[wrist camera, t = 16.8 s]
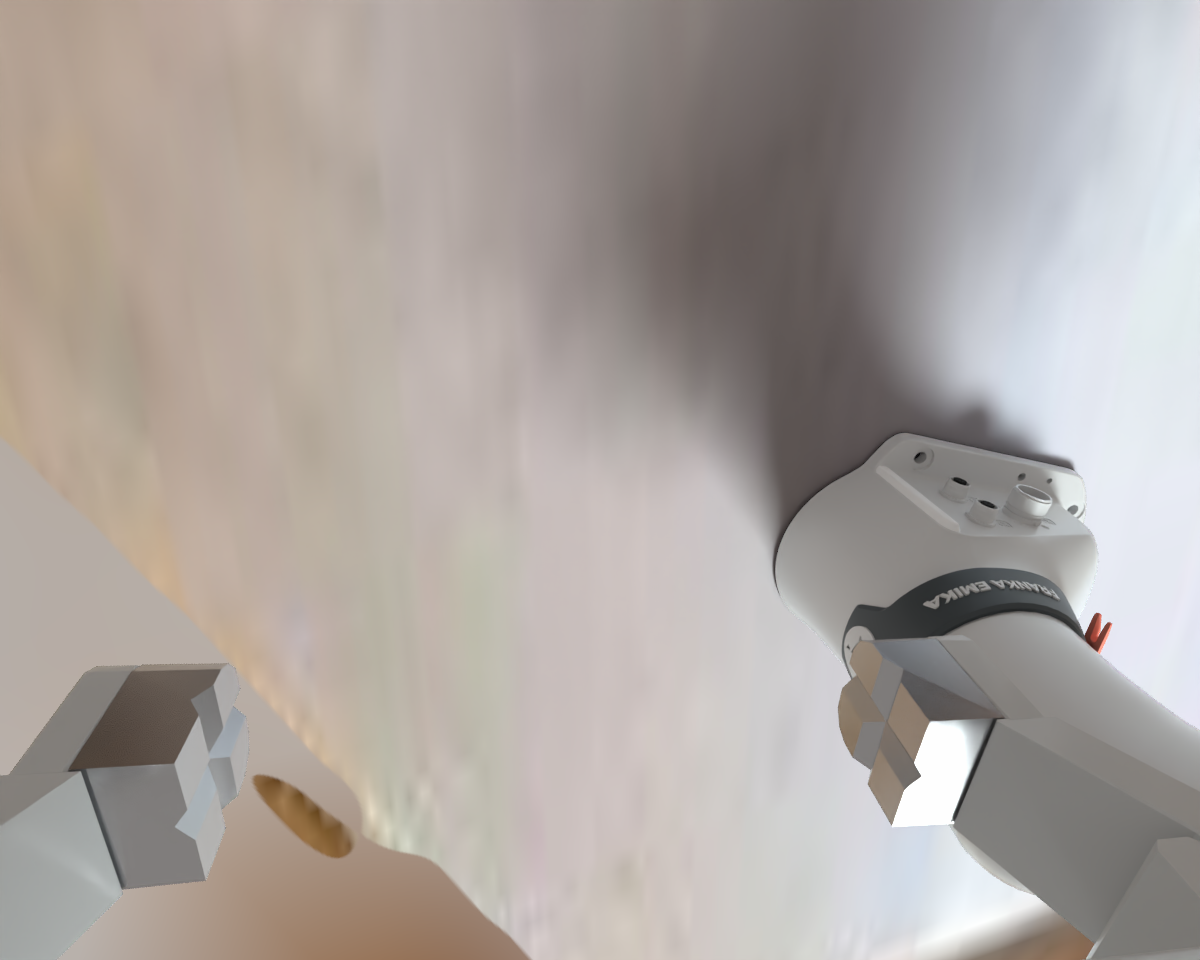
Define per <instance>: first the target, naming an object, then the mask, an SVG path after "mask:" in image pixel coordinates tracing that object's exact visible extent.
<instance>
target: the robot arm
mask: <svg viewBox="0 0 1200 960" xmlns="http://www.w3.org/2000/svg"><path fill="white" fill-rule="evenodd" d="M919 452H921V454H920V456H919V457H918V458H916V459H914V457H915V455H916V454H917V453H919ZM1085 515H1086V490H1085V485H1084V482H1083V479H1082V478H1081V476H1079V475H1078V474H1077V473H1076V472H1075V471H1073V470H1071V469H1068V468H1065V467H1060V466H1056V465H1052V464H1047V463H1043V462H1038V461H1033V460H1029V459H1024V458H1020V457H1015V456H1011V455H1006V454H1002V453H997V452H992V451H988V450H983V449H979V448H974V447H970V446H965V445H961V444H956V443H951V442H947V441H942V440H938V439H933V438H929V437H924V436H920V435H915V434H910V433H900V434H897V435H894V436H893V437H891V438H890V439H888V440H887V441H886V442H885V443H884V444H883V445H882V446H881V447H879V448H878V450H877V451H876V452H875V453H874V454H873V455H872V456H871V457H870V458H869V459H868V460H867V461H866V462H865V464H863V465H862V466H861V467H859V468H858V469H856V470H854V471H853V472H851V473H849V474H847V475H845V476H843V477H842V478H840V479H838V480H836V481H834V482H833V483H831V484H830V485H828V486H827V487H825V488H824V489H822V490H821V491H820V492H819V493H817V494H816V495H815V496H814V497H813V498H812V499H810V500H809V501H808V502H807V503H806V504H805V505H804V506H803V508H802V509H801V510H800V511H799V512H798V513H797V515H796V516H795V517H794V519H793V520H792V522H791V523H790V525H789V527H788V528H787V530H786V532H785V534H784V536H783V538H782V541H781V543H780V546H779V549H778V553H777V558H776V567H775V575H776V583H777V587H778V591H779V593H780V596H781V598H782V600H783V602H784V603H785V605H786V606H787V608H788V609H789V610H790V611H791V612H792V613H793V615H795V616H796V617H797V618H798V619H799V620H801V621H802V622H803V623H804V624H805V625H806V626H808V627H809V628H810V629H811V630H812V631H813V632H814V633H815V634H816V635H817V636H818V637H819V638H820V639H821V640H822V641H823V642H824V643H825V644H826V645H827V646H828V648H829V649H830V651H831V652H832V653H833V654H834V656H835V657H836V658H837V659H838V660H839V661H841V663H842V664H843V665H844V666H845V667H846V668H847V671H848V673H849V675H850V677H851V681H850V682H849V683H847V684H846V685H845V686H844V687H843V688H842V692H841V696H840V700H839V705H838V715H839V727H840V730H841V733H842V737H843V740H844V743H845V744H846V746H847V748H848V750H849V752H850V754H851V755H852V757H853V758H854V759H856V760H857V761H859V762H860V763H862V764H863V765H864V766H866V767H867V768H869V769H870V770H871V771H870V776H869V781H868V785H869V787H870V789H871V791H872V792H873V794H874V796H875V798H876V799H877V801H878V803H879V805H880V806H881V808H882V810H883V811H884V813H885V815H886V817H887V818H888V820H889V822H890V824H891V825H892V827H894V826H915V825H935V824H948V825H949V826H950V828H951V830H952V831H953V833H954V834H955V836H956V838H957V839H958V841H959V842H960V844H961V846H962V847H963V848H964V850H965V851H966V852H967V853H968V854H969V855H970V856H971V857H972V858H973V859H974V860H975V861H976V862H977V863H978V864H979V865H980V866H981V867H983V868H984V869H985V870H986V871H987V872H989V873H990V874H991V875H993V876H994V877H996V878H997V879H999V880H1001V881H1002V882H1004V883H1006V884H1007V885H1009V886H1012V887H1014V888H1016V889H1018V890H1021V891H1024V892H1027V893H1030V894H1033V895H1036V896H1037V897H1038V898H1040V899H1041V900H1042V901H1043V902H1045V903H1046V904H1047V905H1048V906H1049V907H1051V908H1052V909H1053V910H1054V911H1055V912H1057V913H1058V914H1059V915H1060V916H1062V917H1063V918H1064V919H1065V920H1066V921H1068V922H1069V923H1070V924H1071V925H1072V926H1074V927H1075V928H1076V929H1077V930H1079V931H1080V932H1081V933H1082V934H1083V935H1085V936H1086V937H1087V938H1088V939H1089V940H1091V941H1092V942H1093V943H1094V944H1095V945H1094V946H1093V948H1092V950H1091V951H1090V953H1089V955H1088V956H1087V958H1086V960H1200V730H1198V729H1197V728H1195V727H1193V726H1192V725H1190V724H1189V723H1187V722H1186V721H1184V720H1183V719H1181V718H1180V717H1178V716H1177V715H1175V714H1174V713H1173V712H1171V711H1170V710H1169V709H1167V708H1166V707H1165V706H1163V705H1162V704H1161V703H1159V702H1158V701H1157V700H1155V699H1154V698H1153V697H1151V696H1150V695H1149V694H1147V693H1146V692H1145V691H1144V690H1142V689H1141V688H1140V687H1139V686H1137V685H1136V684H1135V683H1133V682H1132V681H1131V680H1130V679H1128V678H1127V677H1126V676H1125V675H1123V674H1122V673H1121V672H1120V671H1119V670H1117V669H1116V668H1115V667H1114V666H1113V665H1112V664H1110V663H1109V662H1108V661H1107V660H1106V659H1104V658H1103V657H1102V656H1101V655H1100V652H1101V650H1102V648H1103V646H1104V644H1105V642H1106V639H1107V637H1108V635H1109V632H1110V629H1111V626H1112V623H1111V622H1108V623H1107V624H1106V625H1105V627H1104V628H1103V630H1102V631H1101V633H1100V629H1101V616H1102V615H1101V614H1100V613H1096V614H1095V615H1094V616H1093V618H1092V620H1091V623H1090V625H1089V627H1088V629H1087V631H1086V634H1085V636H1084V634H1083V631H1082V629H1081V626H1080V624H1079V622H1078V620H1079V618H1080V616H1081V614H1082V612H1083V610H1084V608H1085V606H1086V603H1087V601H1088V598H1089V596H1090V594H1091V591H1092V588H1093V585H1094V582H1095V577H1096V573H1097V568H1098V548H1097V543H1096V540H1095V538H1094V536H1093V534H1092V532H1091V531H1090V530H1089V529H1088V528H1087V527H1086V526H1085V525H1084V520H1085ZM1099 633H1100V635H1099ZM1098 635H1099V636H1098ZM239 691H240V685H239V681H238V677H237V673H236V668H235V667H233V666H232V665H230V664H229V663H226V664H165V665H164V664H157V665H141V666H96V667H94V668H93V669H91V670H89V671H87V672H85V673H84V674H83V675H82V677H81V678H80V679H79V681H78V682H77V683H76V685H75V686H74V688H73V689H72V690H71V692H70V693H69V694H68V696H67V697H66V698H65V700H64V701H63V703H62V704H61V705H60V706H59V708H58V709H57V711H56V712H55V713H54V714H53V716H52V717H51V719H50V720H49V721H48V723H47V724H46V725H45V727H44V728H43V729H42V731H41V732H40V733H39V735H38V736H37V738H36V739H35V740H34V742H33V743H32V744H31V746H30V747H29V748H28V750H27V751H26V752H25V754H24V755H23V756H22V758H21V759H20V760H19V762H18V763H17V764H16V766H15V767H14V768H13V770H12V771H11V773H10V774H9V775H3V776H0V960H57V959H58V958H59V957H60V956H61V955H62V954H63V953H64V952H65V951H66V950H67V949H68V948H69V947H70V946H71V945H72V944H73V943H74V942H75V941H76V940H77V939H78V938H79V937H80V936H81V935H82V934H83V933H85V932H86V931H87V930H88V929H89V927H91V926H92V925H93V924H94V923H95V921H97V919H99V918H100V916H102V915H103V914H104V912H106V910H108V909H109V908H110V907H111V906H112V904H114V903H115V902H116V901H117V900H118V899H119V898H120V897H121V896H122V895H123V891H122V890H123V889H132V888H141V887H151V886H160V885H170V884H179V883H189V882H198V881H206V879H207V877H208V874H209V871H210V869H211V866H212V863H213V861H214V858H215V855H216V853H217V850H218V848H219V845H220V842H221V840H222V837H223V834H224V832H225V829H226V827H225V822H224V818H223V814H222V809H223V808H224V807H225V806H226V805H227V804H229V803H230V802H231V801H232V800H233V799H235V798H236V797H237V796H238V794H239V791H240V788H241V785H242V783H243V780H244V777H245V773H246V767H247V761H248V755H249V730H248V725H247V719H246V716H245V715H244V714H242V713H241V712H240V711H238V709H236V708H235V707H234V706H233V705H234V703H235V701H236V698H237V696H238V693H239Z"/></svg>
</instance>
